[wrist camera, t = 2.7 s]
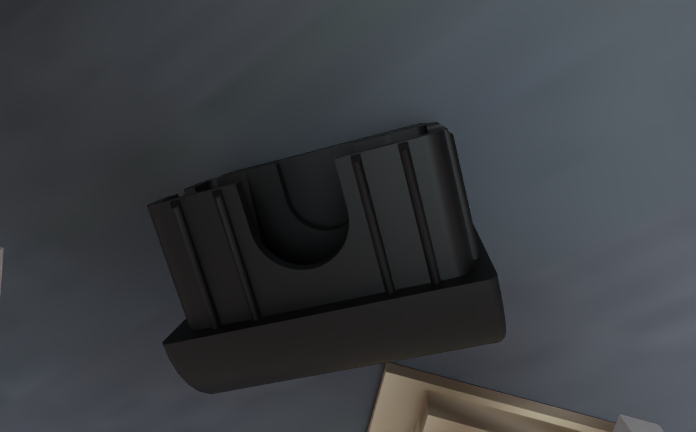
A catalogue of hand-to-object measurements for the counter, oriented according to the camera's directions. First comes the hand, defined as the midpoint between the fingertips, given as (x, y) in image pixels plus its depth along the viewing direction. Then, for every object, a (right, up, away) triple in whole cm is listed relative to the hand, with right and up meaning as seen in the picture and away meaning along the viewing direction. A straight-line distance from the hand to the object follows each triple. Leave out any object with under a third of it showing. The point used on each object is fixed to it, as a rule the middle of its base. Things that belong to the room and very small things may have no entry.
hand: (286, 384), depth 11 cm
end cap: (+1, +3, +10) cm, 11 cm away
